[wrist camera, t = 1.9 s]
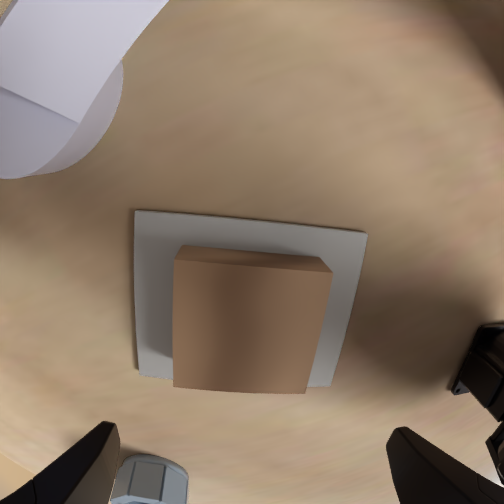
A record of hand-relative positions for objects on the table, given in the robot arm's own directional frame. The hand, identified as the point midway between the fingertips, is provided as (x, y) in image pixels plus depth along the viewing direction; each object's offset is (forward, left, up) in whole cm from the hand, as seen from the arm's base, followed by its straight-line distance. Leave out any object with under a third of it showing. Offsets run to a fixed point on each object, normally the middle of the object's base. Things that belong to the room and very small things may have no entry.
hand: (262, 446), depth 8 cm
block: (0, 0, -9) cm, 9 cm away
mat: (0, 0, -9) cm, 9 cm away
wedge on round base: (+11, -13, -10) cm, 20 cm away
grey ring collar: (+6, +17, -10) cm, 20 cm away
